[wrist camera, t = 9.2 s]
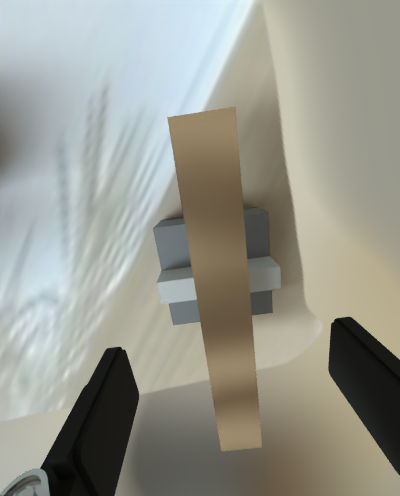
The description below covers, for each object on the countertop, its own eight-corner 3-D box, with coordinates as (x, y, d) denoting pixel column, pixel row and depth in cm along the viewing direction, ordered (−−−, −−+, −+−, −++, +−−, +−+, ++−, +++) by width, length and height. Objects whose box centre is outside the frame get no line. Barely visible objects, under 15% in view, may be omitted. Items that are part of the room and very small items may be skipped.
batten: (178, 140, 14) (167, 117, 9) (222, 133, 14) (235, 107, 9) (216, 388, 20) (221, 451, 16) (246, 385, 20) (261, 447, 16)
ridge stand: (160, 220, 22) (146, 235, 16) (255, 207, 22) (278, 216, 16) (177, 303, 25) (170, 343, 19) (261, 292, 25) (282, 329, 18)
